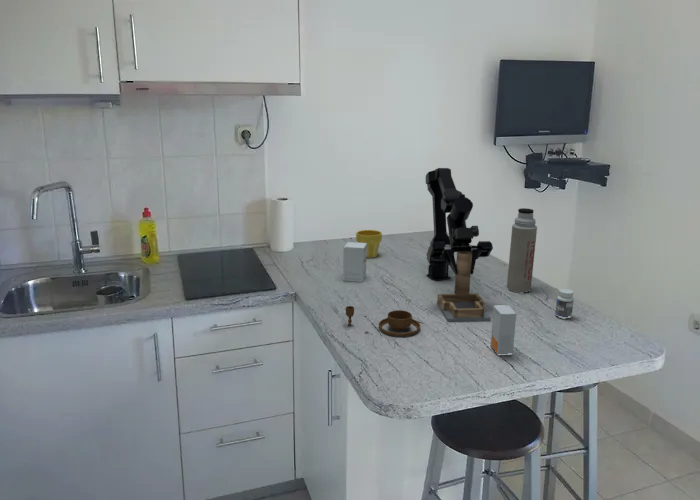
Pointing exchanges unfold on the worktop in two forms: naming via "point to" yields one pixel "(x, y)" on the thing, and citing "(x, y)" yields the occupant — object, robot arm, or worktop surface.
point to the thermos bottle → (522, 251)
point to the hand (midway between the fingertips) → (464, 273)
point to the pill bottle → (564, 303)
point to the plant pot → (370, 241)
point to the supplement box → (354, 261)
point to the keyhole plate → (462, 307)
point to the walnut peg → (463, 273)
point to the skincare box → (503, 329)
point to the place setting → (392, 322)
